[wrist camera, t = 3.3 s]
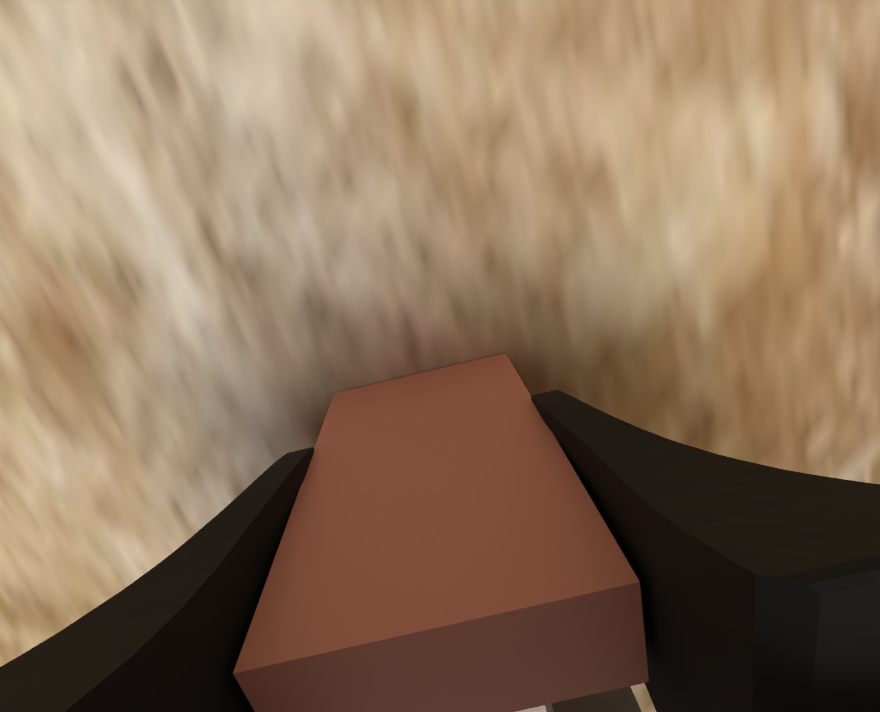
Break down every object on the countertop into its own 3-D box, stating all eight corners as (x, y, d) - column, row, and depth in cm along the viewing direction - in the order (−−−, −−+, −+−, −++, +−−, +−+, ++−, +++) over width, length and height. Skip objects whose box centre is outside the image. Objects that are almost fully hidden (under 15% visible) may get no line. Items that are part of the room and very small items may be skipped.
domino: (557, 523, 15) (703, 852, 8) (575, 629, 17) (708, 979, 9) (504, 536, 15) (598, 874, 8) (527, 640, 17) (623, 998, 9)
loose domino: (334, 393, 13) (232, 673, 6) (505, 352, 13) (639, 581, 5) (352, 446, 14) (283, 762, 6) (515, 408, 14) (649, 682, 6)
